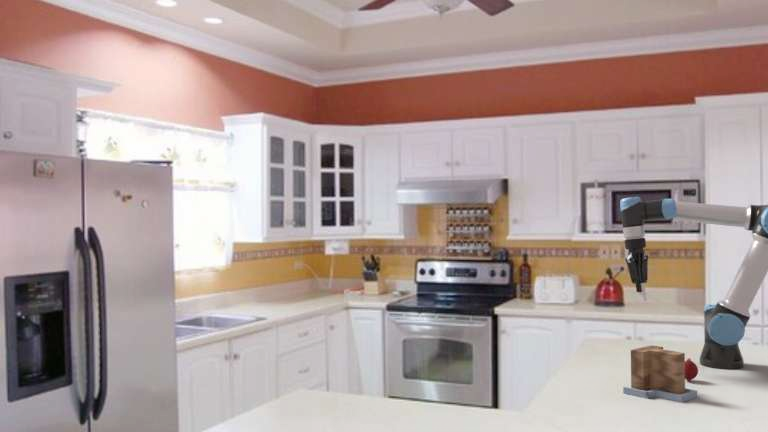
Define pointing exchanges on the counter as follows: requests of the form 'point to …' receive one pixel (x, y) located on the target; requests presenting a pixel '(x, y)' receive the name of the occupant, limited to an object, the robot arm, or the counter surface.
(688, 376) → the onion
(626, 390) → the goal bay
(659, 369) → the tee block
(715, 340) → the robot arm
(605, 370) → the counter surface
